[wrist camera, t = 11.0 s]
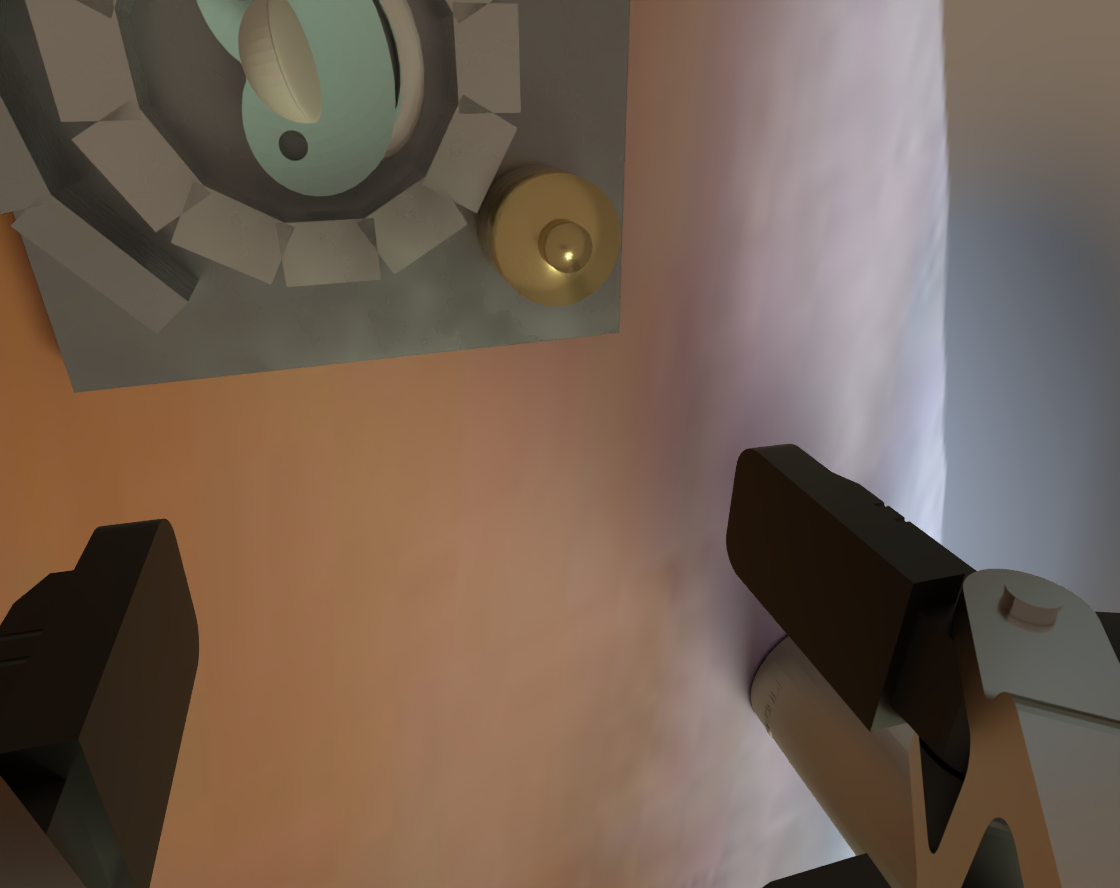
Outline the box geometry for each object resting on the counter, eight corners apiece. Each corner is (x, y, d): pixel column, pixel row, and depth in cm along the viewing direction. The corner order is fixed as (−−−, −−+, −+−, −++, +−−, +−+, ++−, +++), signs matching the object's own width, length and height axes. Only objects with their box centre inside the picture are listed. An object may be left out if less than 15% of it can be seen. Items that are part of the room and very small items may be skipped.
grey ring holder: (619, -232, 23) (701, -310, 18) (605, 322, 31) (659, 365, 27) (-153, -323, 17) (-318, -469, 13) (81, 377, 26) (32, 444, 21)
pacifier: (383, -100, 21) (173, -68, 20) (419, -159, 16) (139, -120, 15) (445, 158, 25) (270, 198, 24) (491, 178, 20) (270, 232, 18)
